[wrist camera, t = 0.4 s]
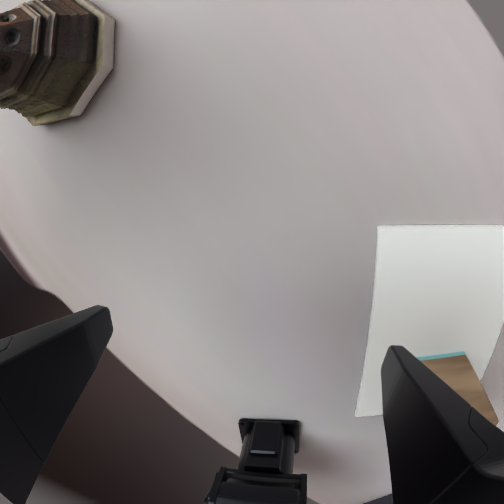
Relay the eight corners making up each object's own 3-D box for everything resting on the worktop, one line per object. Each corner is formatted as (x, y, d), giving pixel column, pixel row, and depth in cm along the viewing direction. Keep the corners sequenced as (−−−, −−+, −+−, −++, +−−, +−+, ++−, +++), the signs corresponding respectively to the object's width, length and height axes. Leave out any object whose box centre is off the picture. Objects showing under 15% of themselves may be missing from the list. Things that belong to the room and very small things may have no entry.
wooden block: (452, 381, 25) (479, 450, 17) (399, 388, 26) (417, 464, 18) (463, 351, 23) (498, 421, 15) (408, 358, 24) (433, 437, 16)
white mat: (469, 397, 26) (471, 400, 26) (354, 413, 28) (354, 417, 28) (523, 225, 19) (526, 227, 18) (377, 225, 21) (379, 228, 21)
